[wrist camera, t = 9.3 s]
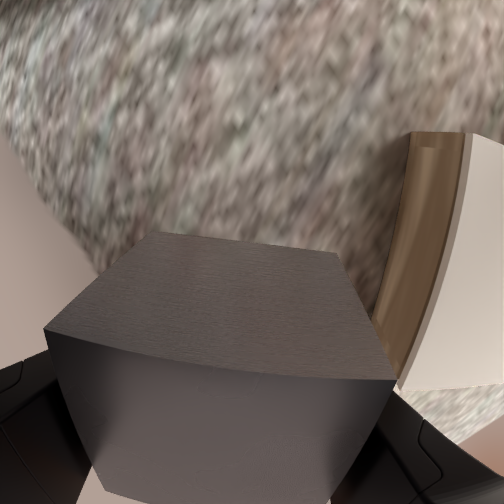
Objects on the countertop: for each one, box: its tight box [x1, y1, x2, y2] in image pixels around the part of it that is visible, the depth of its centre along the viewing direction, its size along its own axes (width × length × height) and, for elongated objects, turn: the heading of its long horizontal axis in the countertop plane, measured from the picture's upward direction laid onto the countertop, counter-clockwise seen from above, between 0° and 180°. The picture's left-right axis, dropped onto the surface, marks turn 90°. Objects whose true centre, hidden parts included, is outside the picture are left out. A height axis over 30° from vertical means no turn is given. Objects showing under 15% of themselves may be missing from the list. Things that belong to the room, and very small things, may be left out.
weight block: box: [43, 231, 397, 504], centre depth 7 cm, size 5×5×5 cm
